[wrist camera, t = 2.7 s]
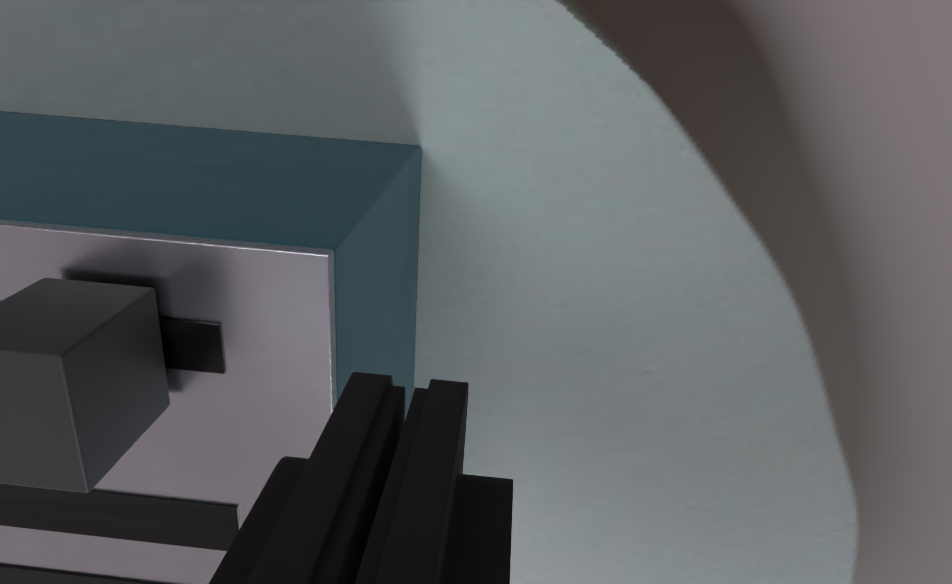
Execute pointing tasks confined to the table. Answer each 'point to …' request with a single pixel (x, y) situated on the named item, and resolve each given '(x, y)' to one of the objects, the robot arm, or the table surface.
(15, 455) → the block
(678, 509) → the table surface
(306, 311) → the toaster
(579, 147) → the table surface
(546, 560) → the table surface
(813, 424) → the table surface
